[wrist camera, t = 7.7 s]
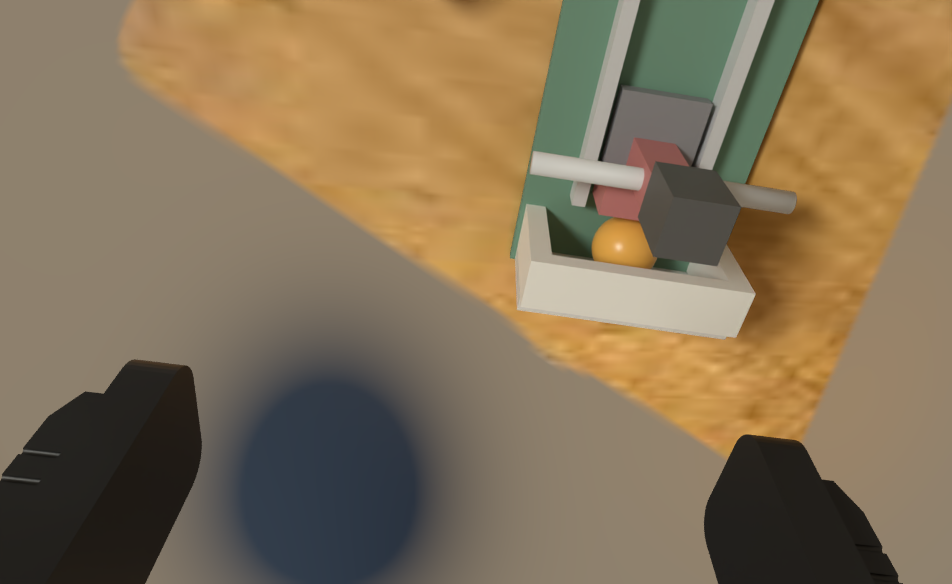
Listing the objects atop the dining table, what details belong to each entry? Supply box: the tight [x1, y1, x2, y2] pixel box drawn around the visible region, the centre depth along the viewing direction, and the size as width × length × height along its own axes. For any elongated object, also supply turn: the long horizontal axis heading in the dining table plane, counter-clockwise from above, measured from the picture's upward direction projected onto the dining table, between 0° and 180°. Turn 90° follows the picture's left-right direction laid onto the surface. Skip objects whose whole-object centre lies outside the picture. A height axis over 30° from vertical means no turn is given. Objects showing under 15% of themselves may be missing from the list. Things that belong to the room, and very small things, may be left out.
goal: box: [515, 204, 756, 340], centre depth 40 cm, size 4×12×7 cm, turn 81°
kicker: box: [529, 84, 797, 266], centre depth 34 cm, size 6×14×11 cm, turn 81°
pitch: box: [510, 0, 819, 272], centre depth 38 cm, size 22×13×2 cm, turn 171°
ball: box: [592, 217, 657, 269], centre depth 41 cm, size 4×4×4 cm
